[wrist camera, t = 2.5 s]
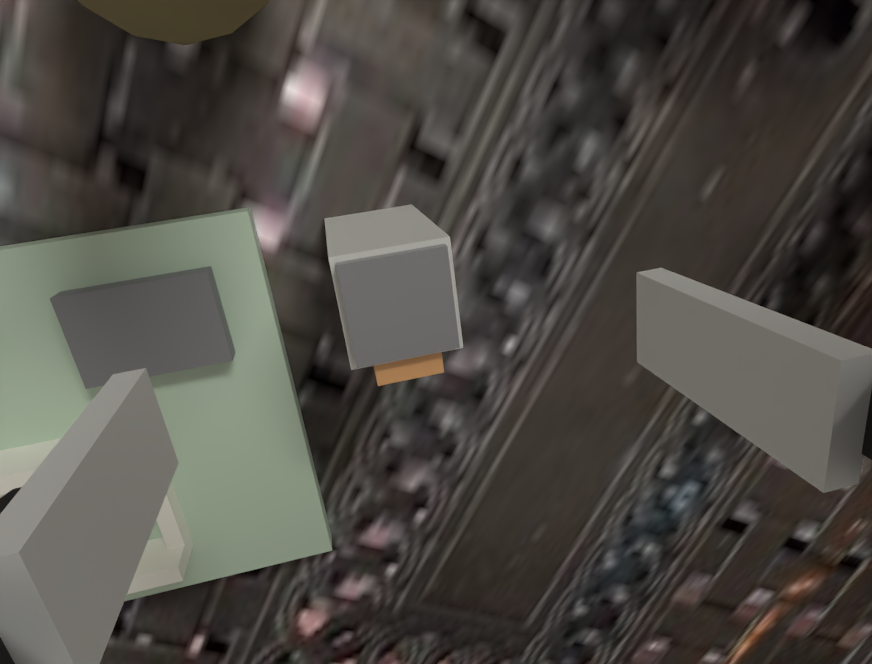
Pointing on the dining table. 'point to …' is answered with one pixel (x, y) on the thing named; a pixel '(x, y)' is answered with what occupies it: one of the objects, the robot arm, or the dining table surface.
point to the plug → (394, 291)
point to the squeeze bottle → (176, 17)
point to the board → (167, 384)
